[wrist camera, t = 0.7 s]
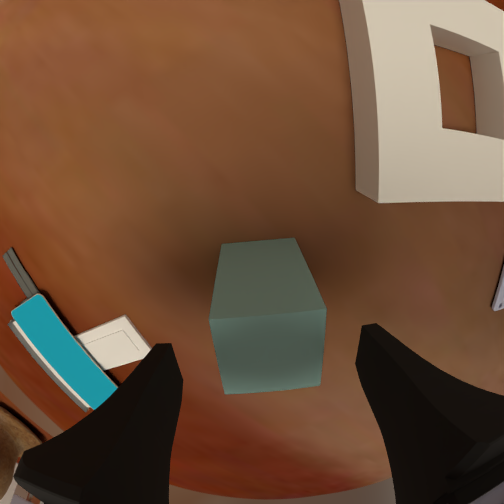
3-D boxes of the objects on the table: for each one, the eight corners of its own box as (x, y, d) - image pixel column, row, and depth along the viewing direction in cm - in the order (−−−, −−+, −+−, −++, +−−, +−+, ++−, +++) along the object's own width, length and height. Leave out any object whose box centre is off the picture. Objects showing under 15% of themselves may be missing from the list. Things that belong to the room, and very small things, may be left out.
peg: (294, 237, 16) (326, 308, 10) (295, 299, 18) (320, 385, 11) (221, 243, 16) (208, 319, 10) (230, 305, 18) (224, 394, 11)
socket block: (492, 26, 10) (518, 21, 7) (504, 191, 15) (531, 202, 12) (334, -24, 10) (350, -47, 7) (355, 190, 15) (378, 203, 12)
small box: (46, 484, 39) (36, 514, 29) (62, 494, 41) (54, 524, 31) (32, 480, 40) (22, 508, 30) (47, 490, 42) (39, 517, 32)
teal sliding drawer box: (212, 411, 23) (211, 426, 21) (116, 428, 24) (112, 439, 23) (62, 204, 15) (48, 212, 14) (-13, 273, 17) (-25, 281, 15)
